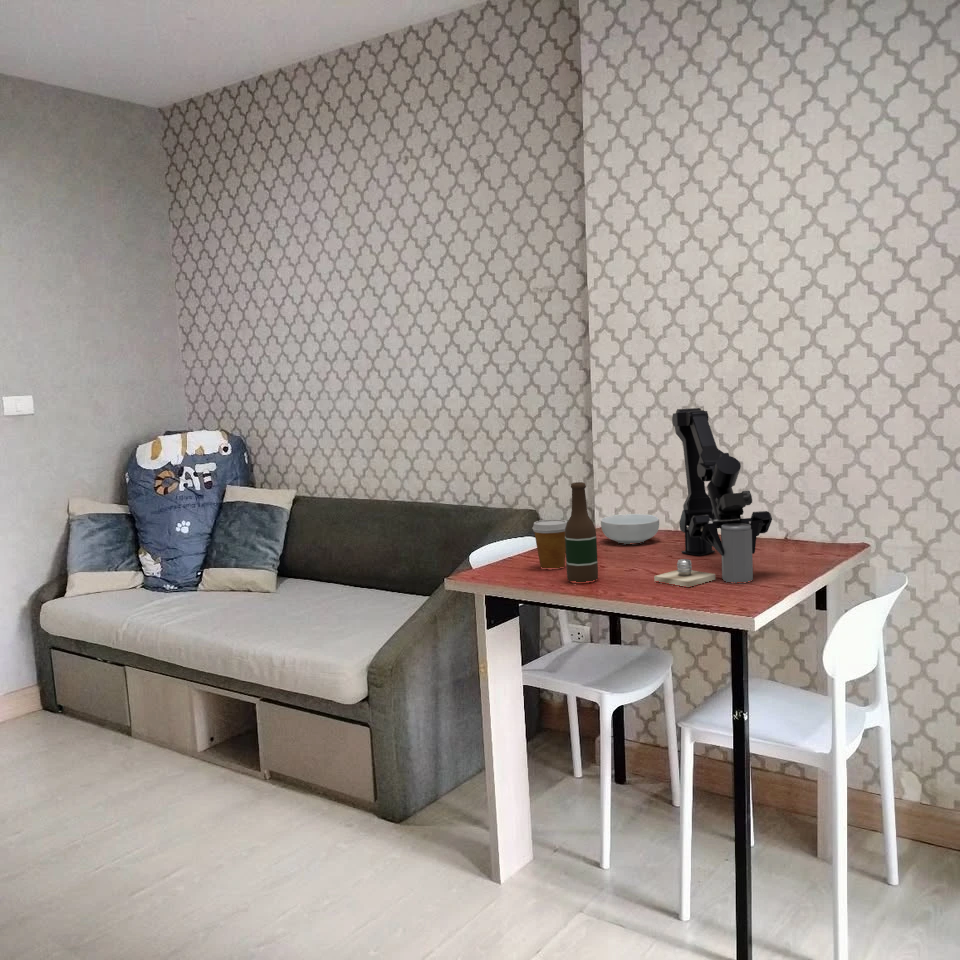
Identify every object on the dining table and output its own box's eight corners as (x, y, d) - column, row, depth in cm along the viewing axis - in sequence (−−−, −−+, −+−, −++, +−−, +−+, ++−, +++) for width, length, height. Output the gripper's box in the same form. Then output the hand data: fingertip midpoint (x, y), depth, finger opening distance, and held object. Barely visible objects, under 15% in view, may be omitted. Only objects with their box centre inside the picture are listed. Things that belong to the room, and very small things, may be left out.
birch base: (654, 582, 225) (654, 575, 225) (681, 574, 231) (681, 568, 231) (688, 588, 217) (688, 581, 217) (715, 580, 223) (715, 574, 223)
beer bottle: (601, 577, 233) (597, 480, 230) (594, 584, 226) (590, 484, 223) (570, 576, 236) (566, 481, 233) (563, 583, 228) (558, 485, 226)
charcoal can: (717, 580, 222) (715, 526, 221) (734, 575, 227) (732, 522, 225) (740, 584, 217) (739, 528, 216) (757, 579, 221) (756, 524, 220)
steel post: (674, 575, 224) (673, 560, 224) (683, 572, 226) (683, 558, 226) (685, 577, 221) (685, 562, 221) (695, 574, 224) (694, 560, 223)
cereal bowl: (589, 544, 277) (588, 520, 277) (625, 535, 289) (624, 512, 288) (636, 549, 265) (635, 524, 264) (671, 540, 276) (670, 516, 275)
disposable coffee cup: (575, 564, 250) (573, 519, 249) (563, 572, 241) (561, 525, 240) (542, 563, 254) (539, 519, 253) (528, 570, 245) (526, 525, 244)
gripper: (690, 482, 223) (704, 536, 213) (768, 477, 224) (786, 531, 214) (682, 510, 232) (696, 563, 222) (758, 505, 232) (775, 558, 223)
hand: (738, 553), depth 220 cm, fingers closed on charcoal can, 7 cm apart
